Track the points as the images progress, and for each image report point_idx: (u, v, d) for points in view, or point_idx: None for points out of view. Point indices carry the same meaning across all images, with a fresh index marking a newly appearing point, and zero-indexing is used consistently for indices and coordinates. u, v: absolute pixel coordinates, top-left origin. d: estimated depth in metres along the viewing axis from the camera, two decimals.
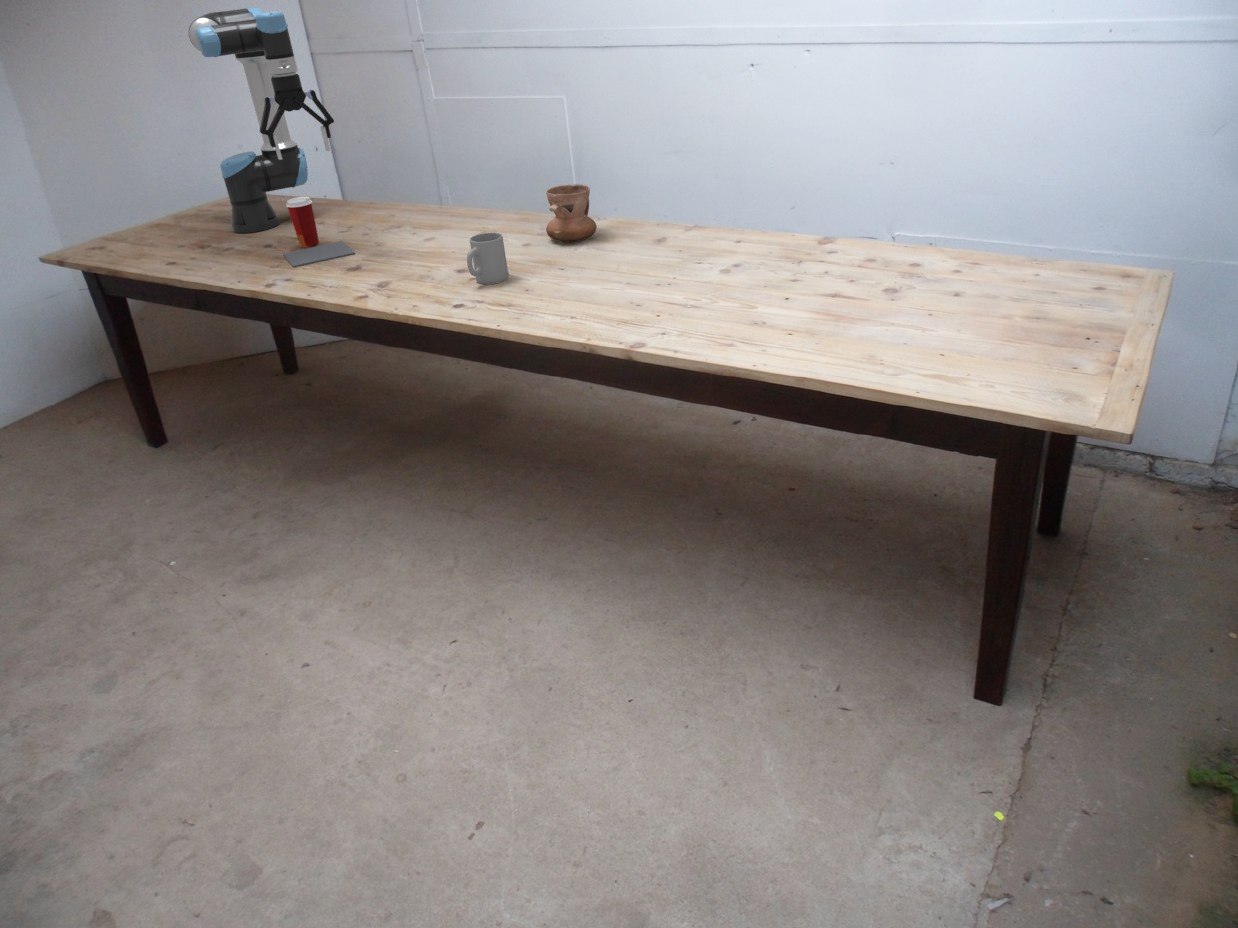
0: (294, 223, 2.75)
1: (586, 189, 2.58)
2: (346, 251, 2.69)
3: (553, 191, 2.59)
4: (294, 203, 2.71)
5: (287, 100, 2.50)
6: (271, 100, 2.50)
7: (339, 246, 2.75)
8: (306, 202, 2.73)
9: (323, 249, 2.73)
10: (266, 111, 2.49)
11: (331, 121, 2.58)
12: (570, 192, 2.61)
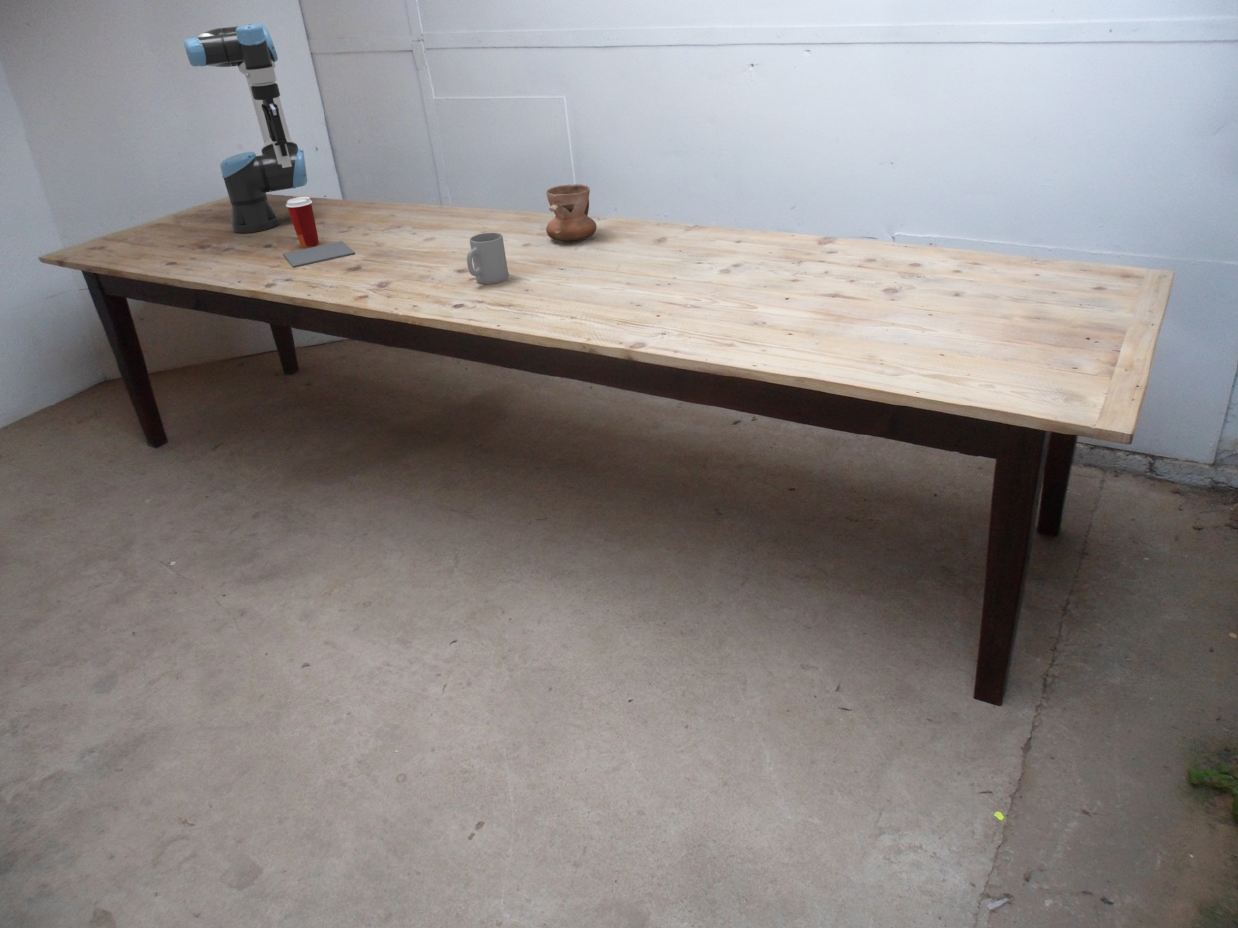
0: (294, 223, 2.75)
1: (586, 189, 2.58)
2: (346, 251, 2.69)
3: (553, 191, 2.59)
4: (294, 203, 2.71)
5: (262, 107, 2.68)
6: None
7: (339, 246, 2.75)
8: (306, 202, 2.73)
9: (323, 249, 2.73)
10: (265, 117, 2.73)
11: None
12: (570, 192, 2.61)
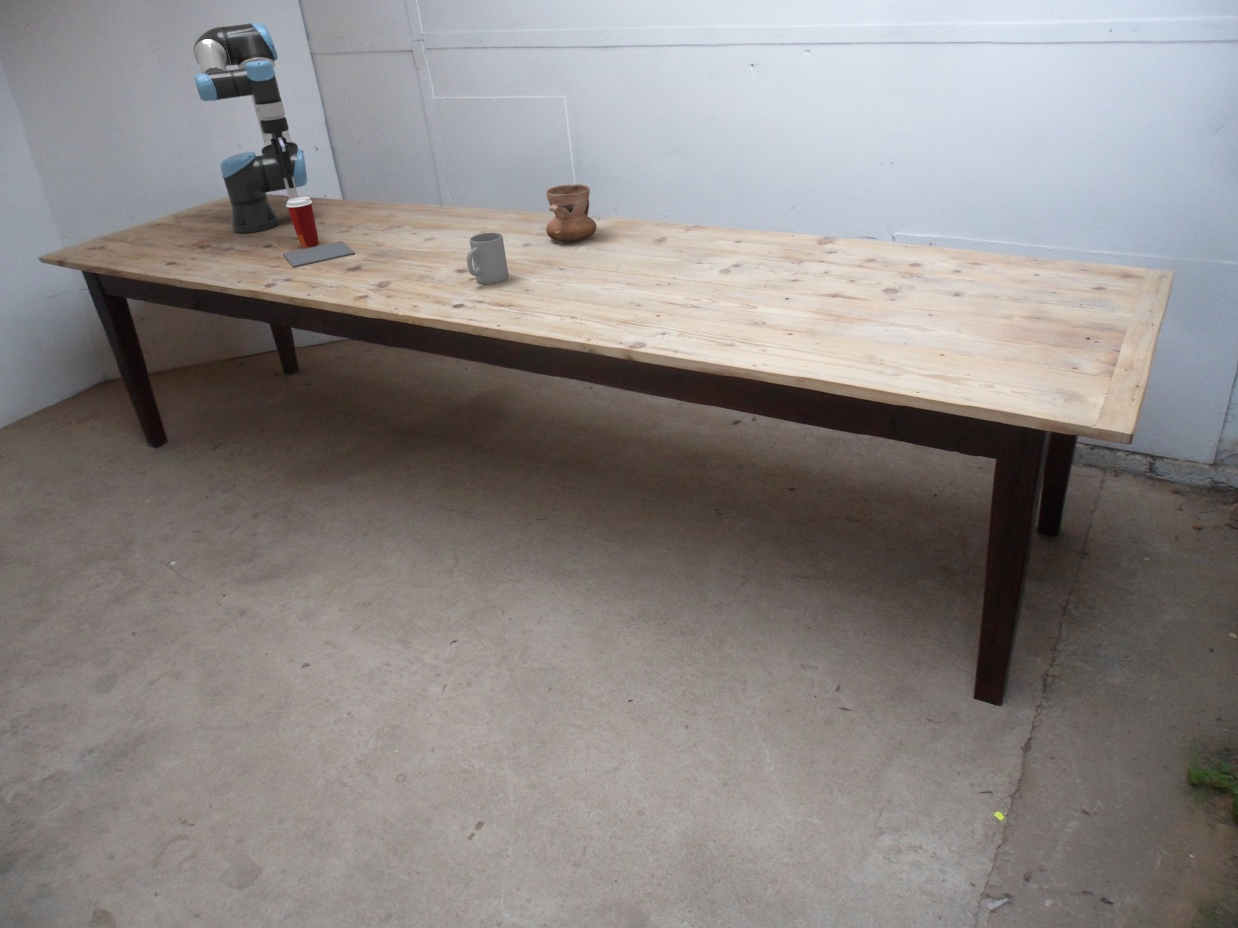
0: (294, 223, 2.75)
1: (586, 189, 2.58)
2: (346, 251, 2.69)
3: (553, 191, 2.59)
4: (294, 203, 2.71)
5: (270, 140, 2.72)
6: None
7: (339, 246, 2.75)
8: (306, 202, 2.73)
9: (323, 249, 2.73)
10: (275, 153, 2.77)
11: None
12: (570, 192, 2.61)
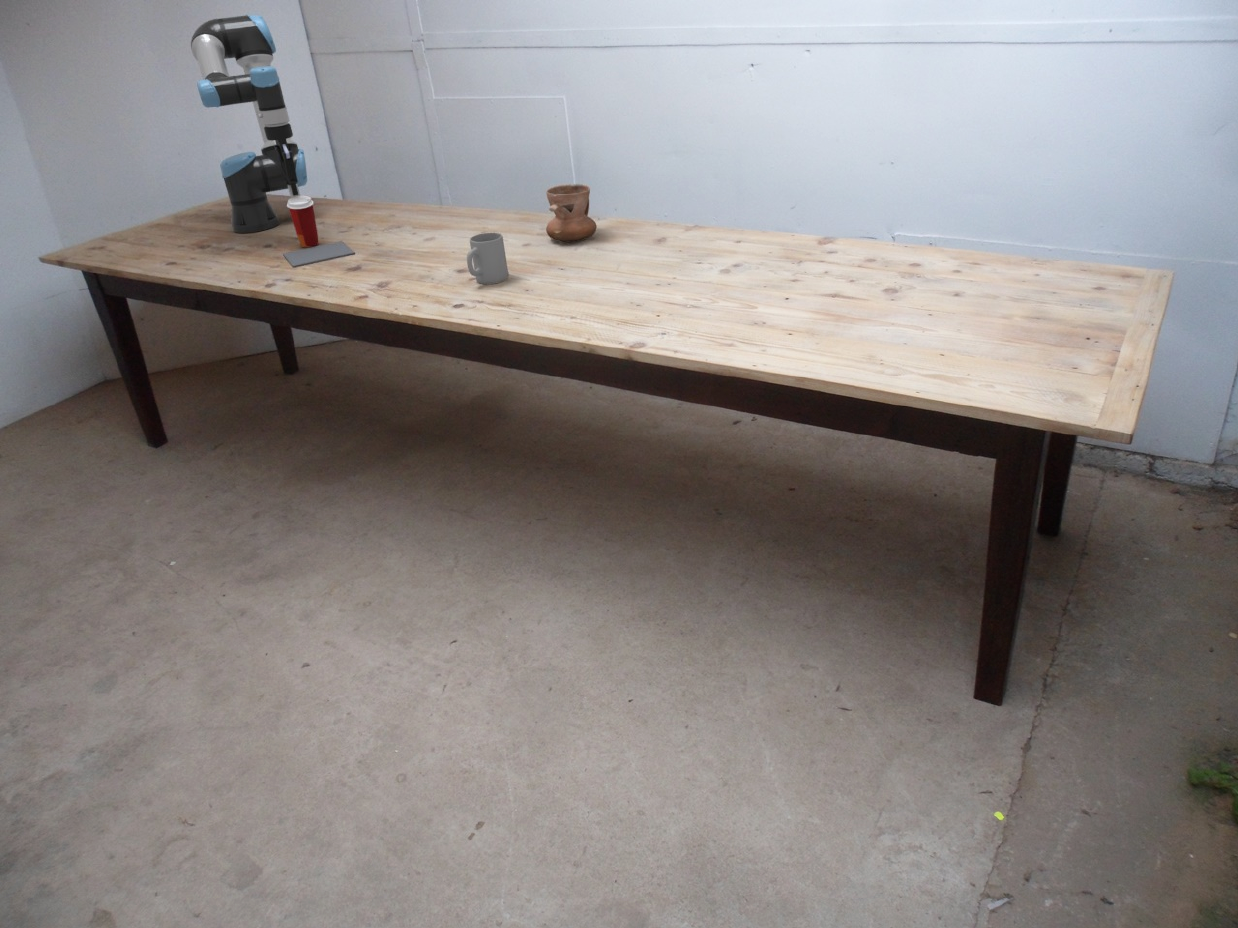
0: (294, 223, 2.74)
1: (586, 189, 2.58)
2: (346, 251, 2.69)
3: (553, 191, 2.59)
4: (295, 205, 2.70)
5: (275, 147, 2.69)
6: None
7: (339, 246, 2.75)
8: (308, 204, 2.71)
9: (323, 249, 2.73)
10: (279, 159, 2.74)
11: None
12: (570, 192, 2.61)
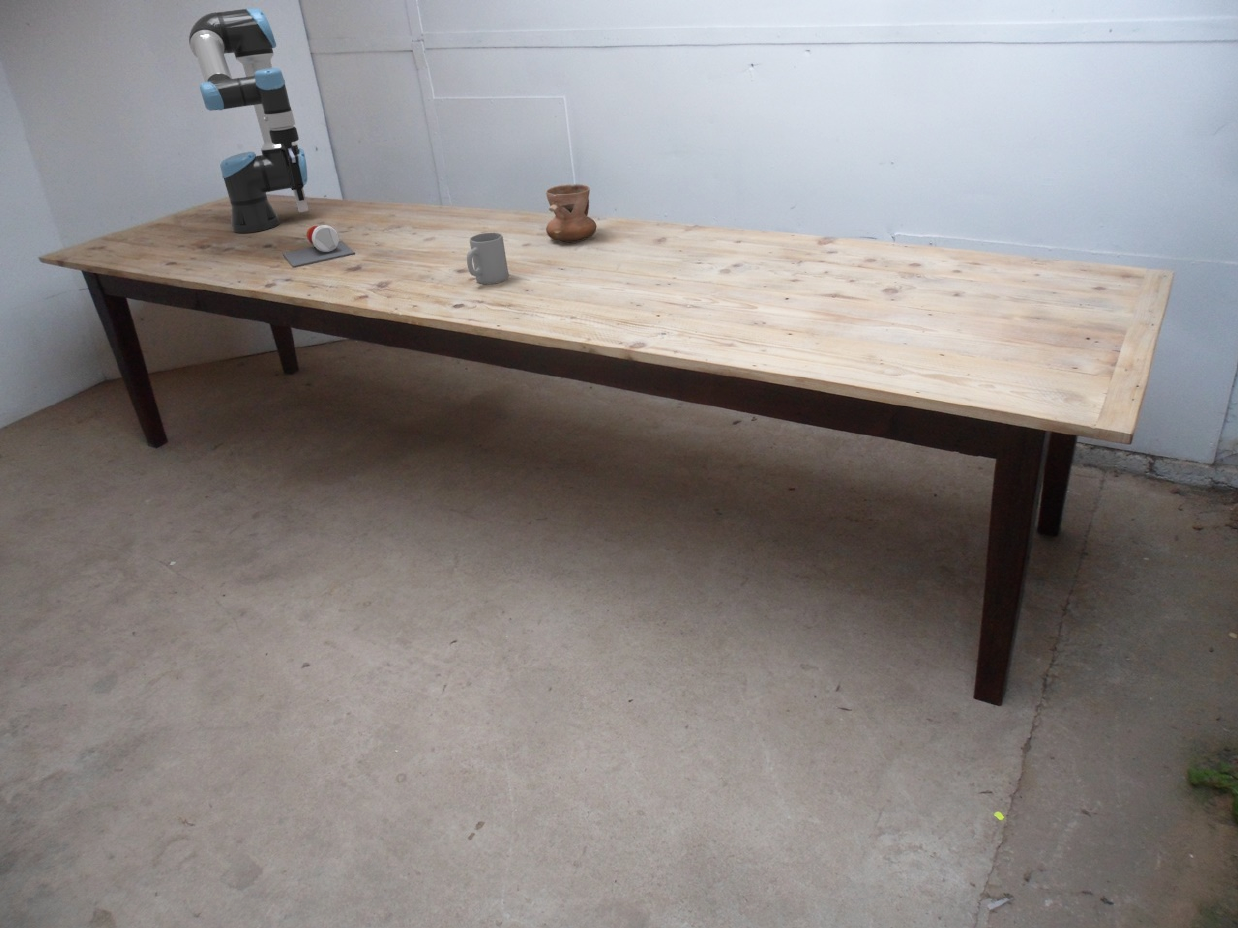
0: (310, 236, 2.70)
1: (586, 189, 2.58)
2: (346, 251, 2.69)
3: (553, 191, 2.59)
4: (317, 246, 2.66)
5: (280, 151, 2.62)
6: None
7: (339, 246, 2.75)
8: (327, 250, 2.69)
9: None
10: None
11: None
12: (570, 192, 2.61)
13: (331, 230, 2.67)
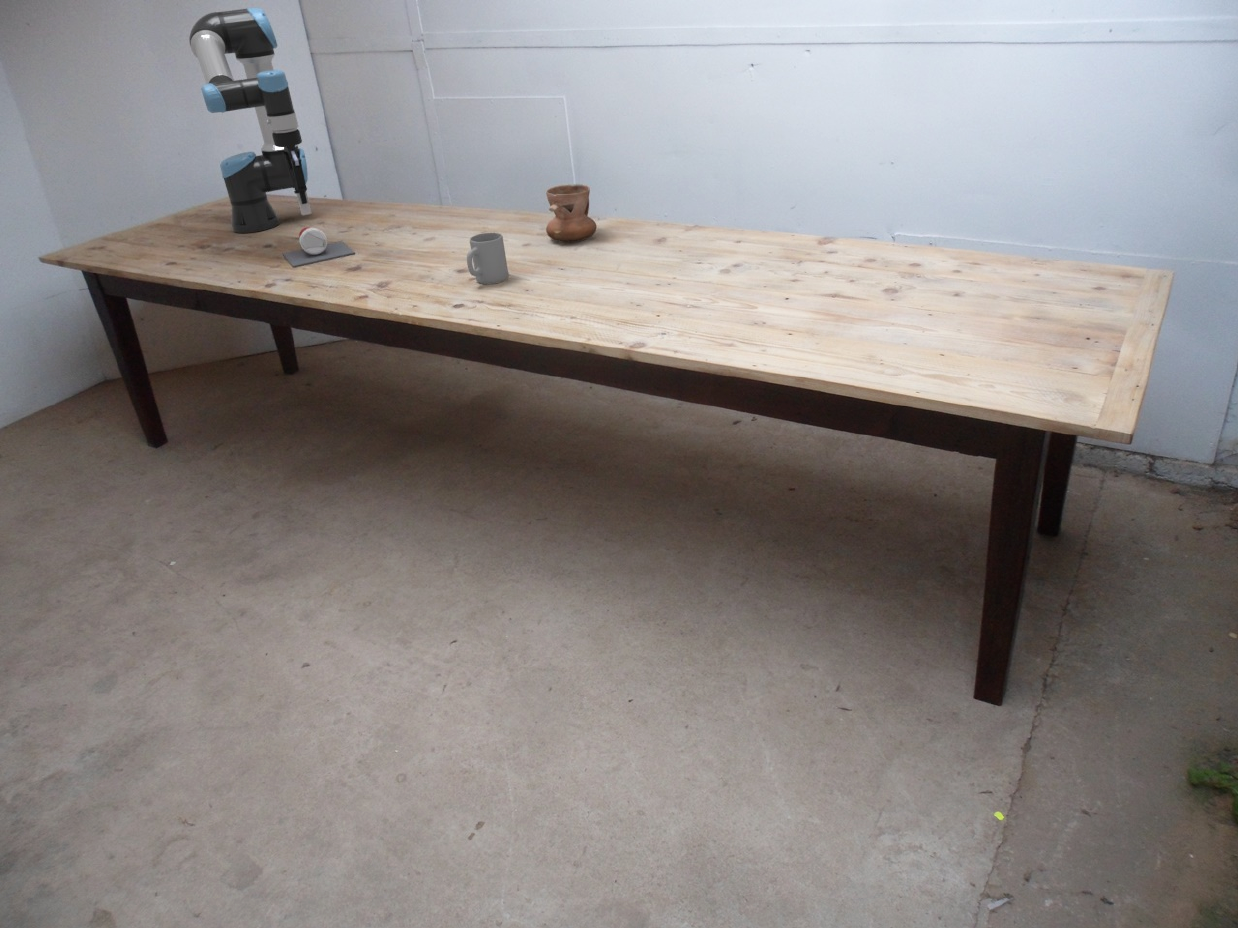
0: None
1: (586, 189, 2.58)
2: (346, 251, 2.69)
3: (553, 191, 2.59)
4: (313, 253, 2.67)
5: (283, 154, 2.59)
6: None
7: (339, 246, 2.75)
8: (324, 248, 2.68)
9: None
10: (287, 166, 2.64)
11: None
12: (570, 192, 2.61)
13: (310, 231, 2.64)
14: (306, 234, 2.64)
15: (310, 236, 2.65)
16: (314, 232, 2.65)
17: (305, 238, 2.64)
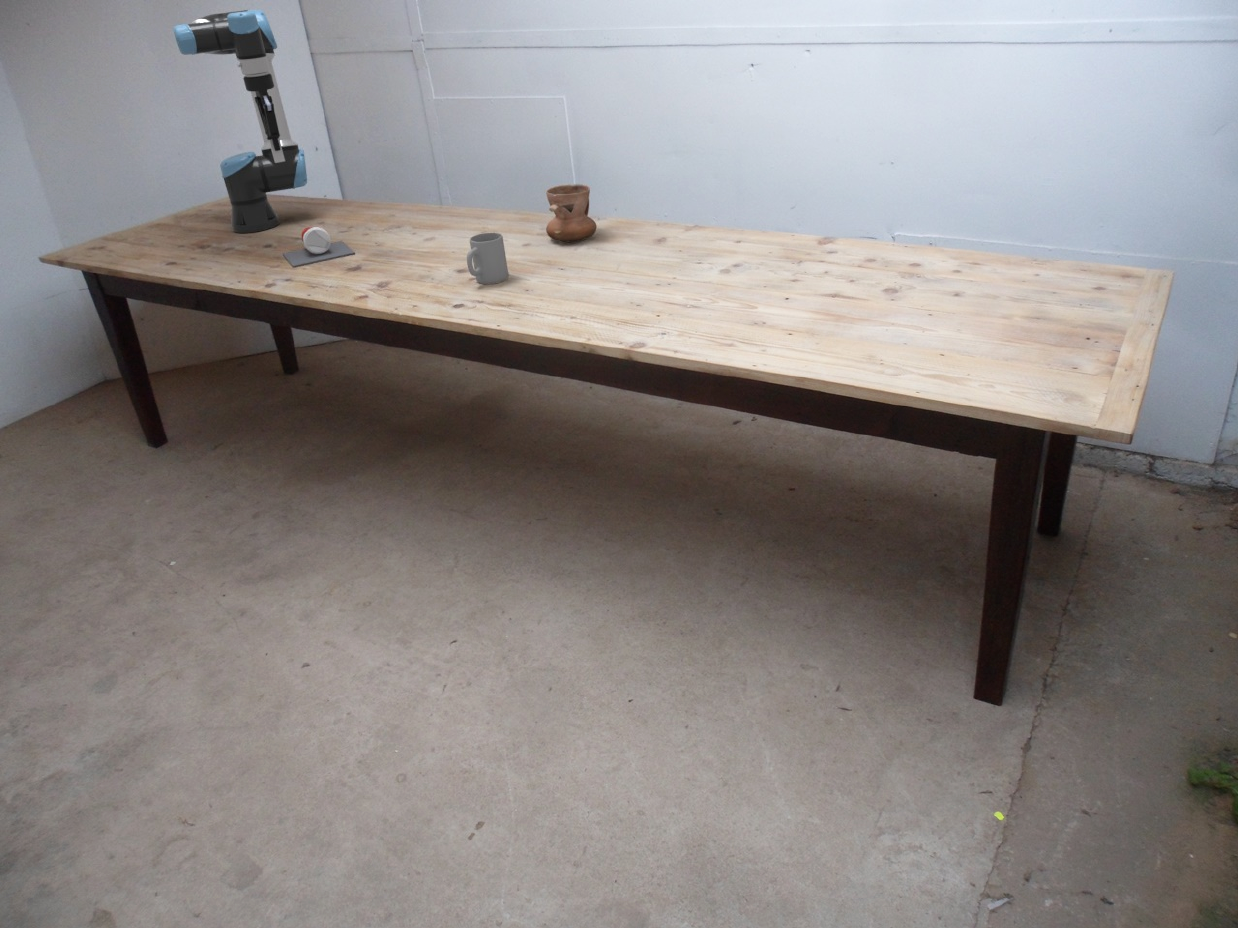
0: None
1: (586, 189, 2.58)
2: (346, 251, 2.69)
3: (553, 191, 2.59)
4: (314, 252, 2.67)
5: (255, 99, 2.54)
6: None
7: (339, 246, 2.75)
8: (325, 250, 2.68)
9: None
10: (259, 112, 2.60)
11: None
12: (570, 192, 2.61)
13: (317, 230, 2.65)
14: (312, 232, 2.64)
15: (315, 235, 2.65)
16: (320, 232, 2.65)
17: (310, 235, 2.64)
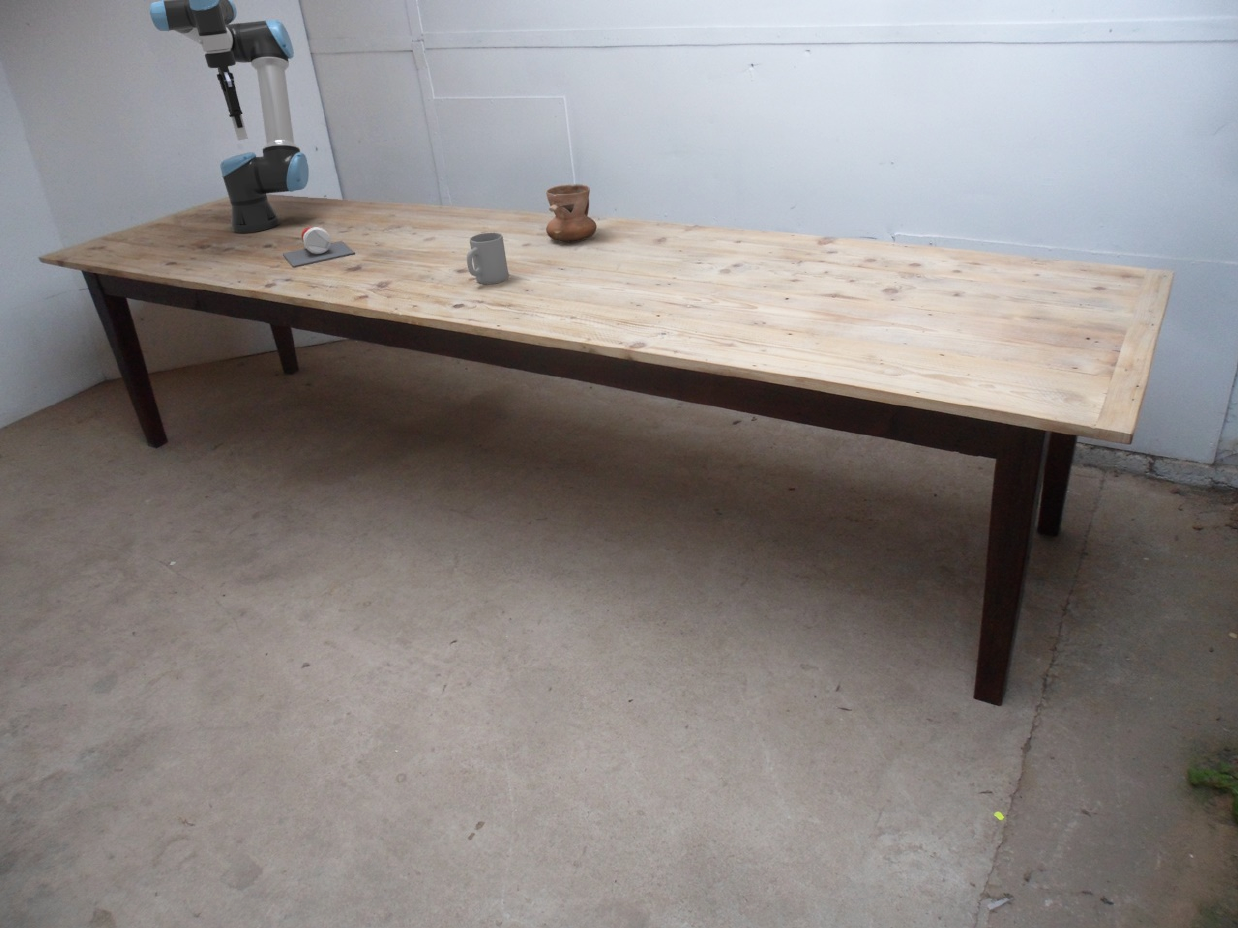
0: None
1: (586, 189, 2.58)
2: (346, 251, 2.69)
3: (553, 191, 2.59)
4: (314, 252, 2.67)
5: (217, 76, 2.57)
6: None
7: (339, 246, 2.75)
8: (325, 250, 2.68)
9: None
10: None
11: None
12: (570, 192, 2.61)
13: (317, 230, 2.65)
14: (312, 232, 2.64)
15: (315, 235, 2.65)
16: (320, 232, 2.65)
17: (310, 235, 2.64)
